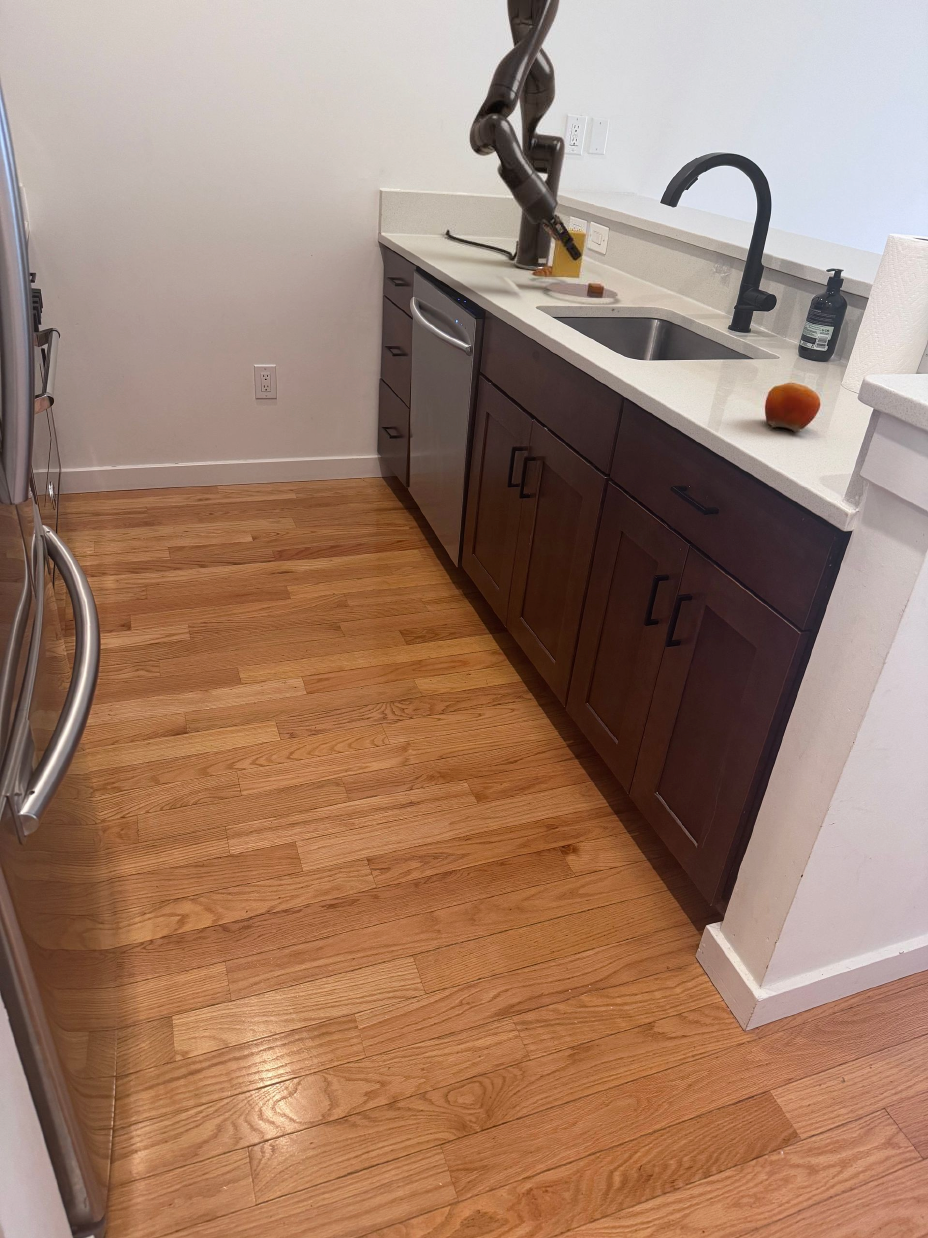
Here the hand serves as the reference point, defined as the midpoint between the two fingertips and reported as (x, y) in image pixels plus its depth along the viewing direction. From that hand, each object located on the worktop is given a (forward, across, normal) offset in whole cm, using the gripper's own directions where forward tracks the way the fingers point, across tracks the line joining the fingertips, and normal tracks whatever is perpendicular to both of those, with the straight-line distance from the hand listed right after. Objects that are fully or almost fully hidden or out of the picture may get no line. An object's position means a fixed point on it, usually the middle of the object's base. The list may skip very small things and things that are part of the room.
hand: (575, 255), depth 211 cm
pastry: (+6, +21, +7) cm, 23 cm away
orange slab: (+11, +2, +1) cm, 11 cm away
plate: (+9, +2, +4) cm, 10 cm away
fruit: (+16, -95, -2) cm, 96 cm away
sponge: (+2, 0, +5) cm, 5 cm away
